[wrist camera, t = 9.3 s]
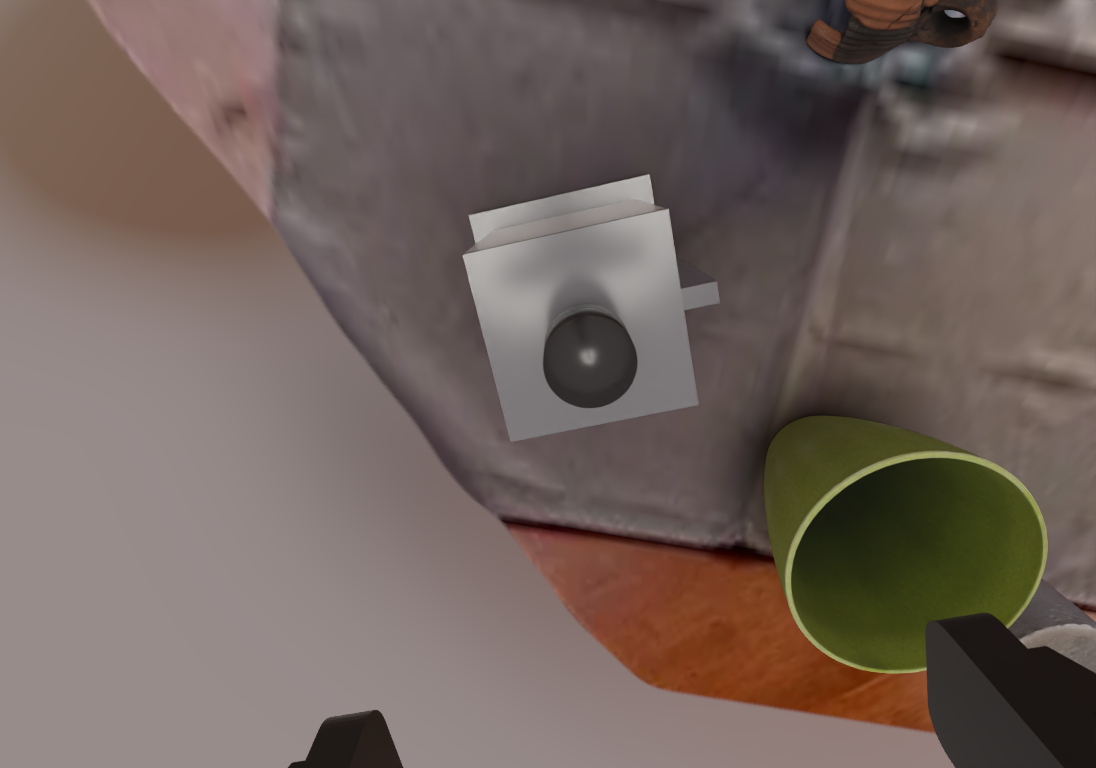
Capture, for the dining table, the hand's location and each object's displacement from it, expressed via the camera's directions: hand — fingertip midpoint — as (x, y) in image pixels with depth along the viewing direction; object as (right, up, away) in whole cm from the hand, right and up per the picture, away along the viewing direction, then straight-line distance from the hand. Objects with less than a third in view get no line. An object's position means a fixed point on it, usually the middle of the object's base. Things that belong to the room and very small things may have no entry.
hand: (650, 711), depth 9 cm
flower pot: (+20, -1, +42) cm, 47 cm away
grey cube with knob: (+1, +13, +38) cm, 40 cm away
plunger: (+1, +11, +35) cm, 37 cm away
